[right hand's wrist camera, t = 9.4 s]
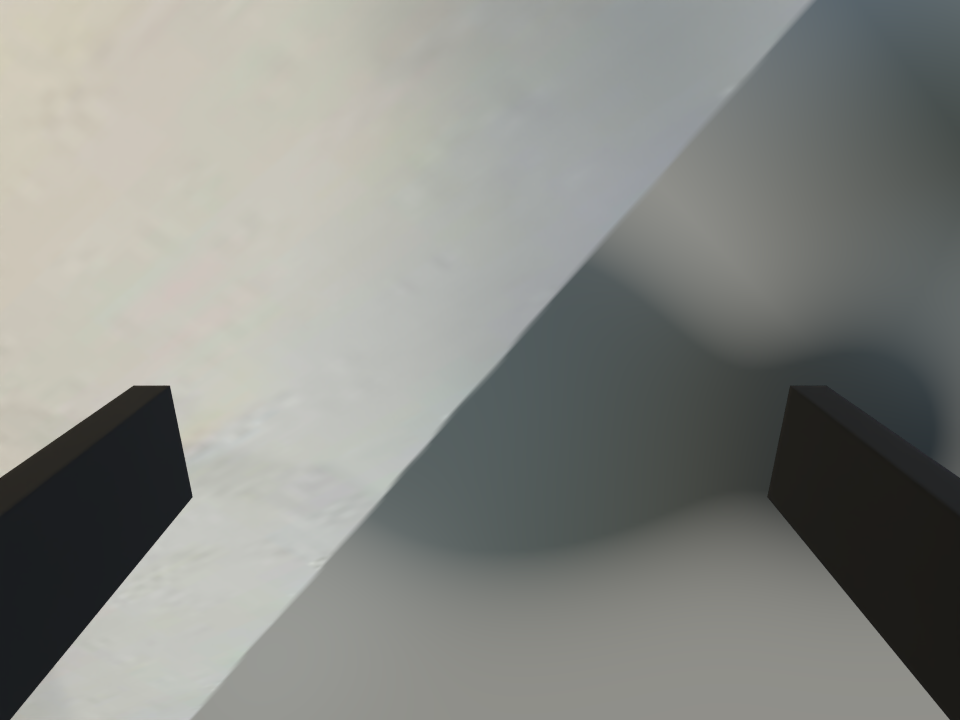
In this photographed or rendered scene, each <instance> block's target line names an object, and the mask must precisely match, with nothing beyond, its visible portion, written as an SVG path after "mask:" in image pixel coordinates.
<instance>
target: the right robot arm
mask: <svg viewBox="0 0 960 720" xmlns="http://www.w3.org/2000/svg"><path fill="white" fill-rule="evenodd" d="M191 498H192V492H191V487H190V482H189V477H188V472H187V467H186V462H185V457H184V453H183V448H182V443H181V438H180V433H179V428H178V423H177V418H176V413H175V408H174V404H173V399H172V394H171V389H170V386H132V387H131V388H130V389H128V390H127V391H125V392H124V393H122V394H121V395H119V396H118V397H117V398H115V399H114V400H112V401H111V402H109V403H108V404H106V405H105V406H104V407H102V408H101V409H99V410H98V411H96V412H95V413H93V414H92V415H91V416H89V417H88V418H86V419H85V420H83V421H82V422H80V423H79V424H78V425H76V426H75V427H73V428H72V429H70V430H69V431H67V432H66V433H65V434H63V435H62V436H60V437H59V438H57V439H56V440H54V441H53V442H51V443H50V444H49V445H47V446H46V447H44V448H43V449H41V450H40V451H38V452H37V453H36V454H34V455H33V456H31V457H30V458H28V459H27V460H25V461H24V462H23V463H21V464H20V465H18V466H17V467H15V468H14V469H12V470H11V471H10V472H8V473H7V474H5V475H4V476H2V477H1V478H0V720H10V719H11V718H12V717H13V716H14V714H15V713H16V712H17V711H18V709H19V708H20V707H21V706H22V705H23V703H24V702H25V701H26V700H27V698H28V697H29V696H30V695H31V694H32V692H33V691H34V690H35V689H36V687H37V686H38V685H39V684H40V683H41V681H42V680H43V679H44V678H45V676H46V675H47V674H48V673H49V672H50V670H51V669H52V668H53V667H54V665H55V664H56V663H57V662H58V661H59V659H60V658H61V657H62V656H63V655H64V653H65V652H66V651H67V650H68V648H69V647H70V646H71V645H72V644H73V642H74V641H75V640H76V639H77V637H78V636H79V635H80V634H81V633H82V631H83V630H84V629H85V628H86V626H87V625H88V624H89V623H90V622H91V620H92V619H93V618H94V617H95V615H96V614H97V613H98V612H99V611H100V609H101V608H102V607H103V606H104V604H105V603H106V602H107V601H108V600H109V598H110V597H111V596H112V595H113V593H114V592H115V591H116V590H117V589H118V587H119V586H120V585H121V584H122V583H123V581H124V580H125V579H126V578H127V576H128V575H129V574H130V573H131V572H132V570H133V569H134V568H135V567H136V565H137V564H138V563H139V562H140V561H141V559H142V558H143V557H144V556H145V554H146V553H147V552H148V551H149V550H150V548H151V547H152V546H153V545H154V543H155V542H156V541H157V540H158V539H159V537H160V536H161V535H162V534H163V532H164V531H165V530H166V529H167V528H168V526H169V525H170V524H171V523H172V521H173V520H174V519H175V518H176V517H177V515H178V514H179V513H180V512H181V511H182V509H183V508H184V507H185V506H186V504H187V503H188V502H189V501H190V500H191ZM768 498H769V500H770V501H771V502H772V503H773V504H774V506H775V507H776V508H777V509H778V510H779V512H780V513H781V514H782V515H783V517H784V518H785V519H786V520H787V521H788V523H789V524H790V525H791V526H792V528H793V529H794V530H795V531H796V532H797V534H798V535H799V536H800V537H801V539H802V540H803V541H804V542H805V543H806V545H807V546H808V547H809V548H810V550H811V551H812V552H813V553H814V554H815V556H816V557H817V558H818V559H819V560H820V562H821V563H822V564H823V565H824V567H825V568H826V569H827V570H828V572H829V573H830V574H831V575H832V576H833V578H834V579H835V580H836V581H837V583H838V584H839V585H840V586H841V587H842V589H843V590H844V591H845V592H846V593H847V595H848V596H849V597H850V598H851V600H852V601H853V602H854V603H855V604H856V606H857V607H858V608H859V609H860V611H861V612H862V613H863V614H864V615H865V617H866V618H867V619H868V620H869V622H870V623H871V624H872V625H873V626H874V628H875V629H876V630H877V631H878V633H879V634H880V635H881V636H882V637H883V639H884V640H885V641H886V642H887V644H888V645H889V646H890V647H891V648H892V650H893V651H894V652H895V653H896V654H897V656H898V657H899V658H900V659H901V661H902V662H903V663H904V664H905V665H906V667H907V668H908V669H909V670H910V672H911V673H912V674H913V675H914V676H915V678H916V679H917V680H918V681H919V683H920V684H921V685H922V686H923V687H924V689H925V690H926V691H927V692H928V693H929V695H930V696H931V697H932V698H933V700H934V701H935V702H936V703H937V705H938V706H939V707H940V708H941V709H942V711H943V712H944V713H945V714H946V716H947V717H948V718H949V719H950V720H960V478H959V477H958V476H956V475H955V474H953V473H952V472H950V471H949V470H948V469H946V468H945V467H943V466H942V465H940V464H939V463H937V462H936V461H934V460H933V459H932V458H930V457H929V456H927V455H926V454H924V453H923V452H922V451H920V450H919V449H917V448H916V447H914V446H913V445H911V444H910V443H908V442H907V441H906V440H904V439H903V438H901V437H900V436H898V435H897V434H895V433H894V432H893V431H891V430H890V429H888V428H887V427H885V426H884V425H882V424H881V423H880V422H878V421H877V420H875V419H874V418H872V417H871V416H869V415H868V414H867V413H865V412H864V411H862V410H861V409H859V408H858V407H856V406H855V405H854V404H852V403H851V402H849V401H848V400H846V399H845V398H843V397H842V396H841V395H839V394H838V393H836V392H835V391H833V390H832V389H830V388H829V387H828V386H790V389H789V394H788V399H787V404H786V408H785V414H784V418H783V423H782V428H781V433H780V438H779V443H778V448H777V453H776V458H775V462H774V467H773V472H772V477H771V482H770V487H769V492H768Z"/></svg>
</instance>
